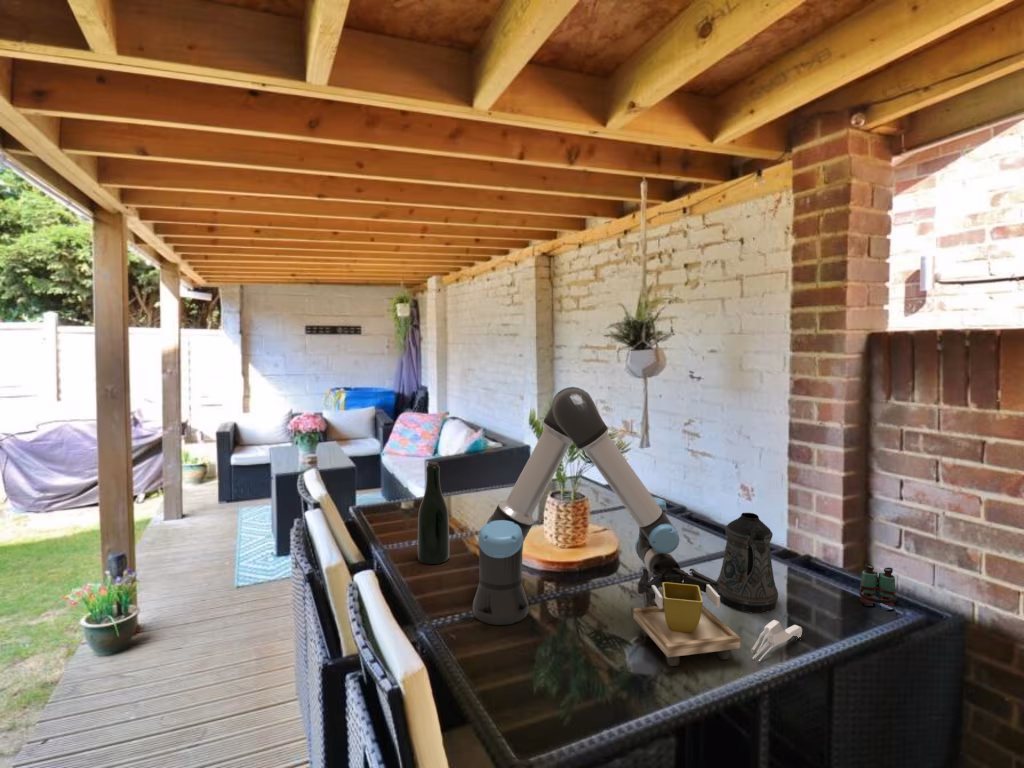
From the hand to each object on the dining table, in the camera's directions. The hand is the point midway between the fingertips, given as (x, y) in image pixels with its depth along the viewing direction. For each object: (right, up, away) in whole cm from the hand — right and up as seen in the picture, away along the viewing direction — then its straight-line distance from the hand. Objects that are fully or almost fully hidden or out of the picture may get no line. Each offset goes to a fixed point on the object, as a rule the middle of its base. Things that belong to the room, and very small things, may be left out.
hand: (689, 602), depth 131 cm
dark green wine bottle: (-68, -8, +57) cm, 89 cm away
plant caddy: (0, -12, +4) cm, 13 cm away
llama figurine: (+22, -13, +3) cm, 25 cm away
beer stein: (+26, -11, +27) cm, 39 cm away
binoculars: (+61, -11, +26) cm, 67 cm away
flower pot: (-1, -7, +3) cm, 8 cm away
